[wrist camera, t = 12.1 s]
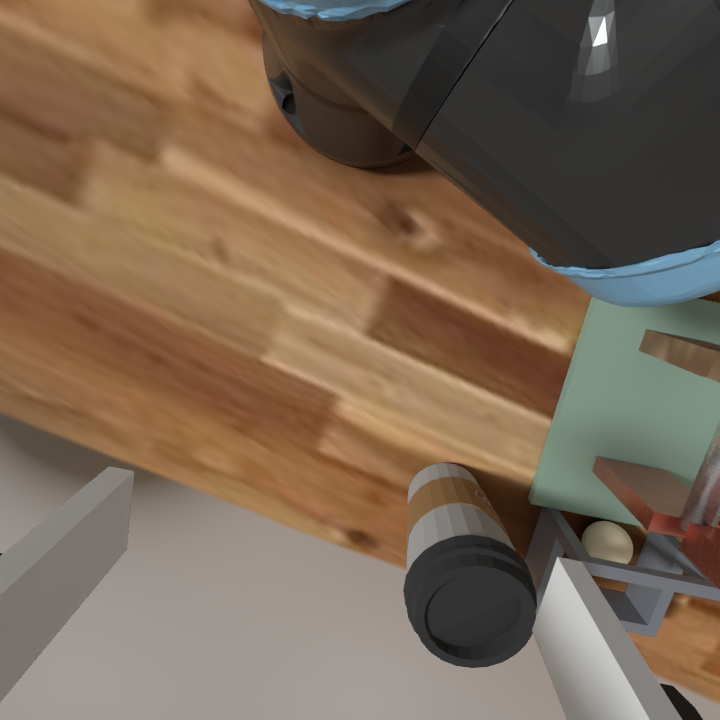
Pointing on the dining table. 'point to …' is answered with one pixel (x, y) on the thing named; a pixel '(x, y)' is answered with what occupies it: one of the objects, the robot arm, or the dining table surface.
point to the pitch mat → (627, 407)
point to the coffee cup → (464, 572)
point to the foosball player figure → (683, 353)
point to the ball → (607, 542)
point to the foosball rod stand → (674, 504)
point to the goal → (621, 572)
